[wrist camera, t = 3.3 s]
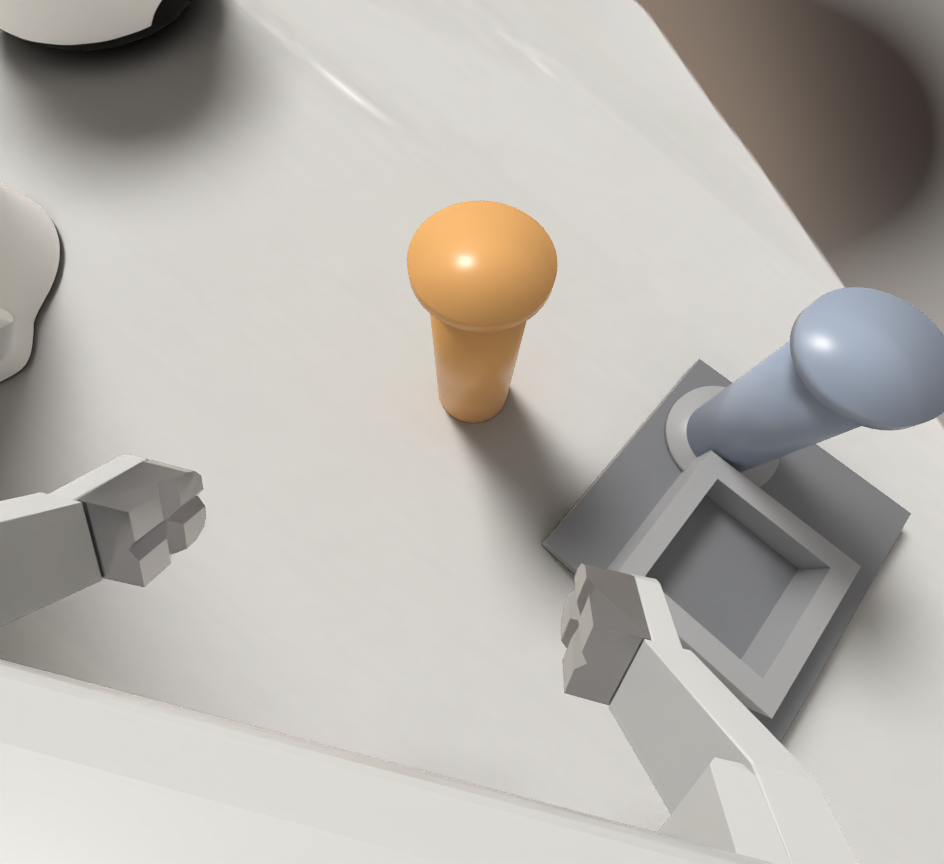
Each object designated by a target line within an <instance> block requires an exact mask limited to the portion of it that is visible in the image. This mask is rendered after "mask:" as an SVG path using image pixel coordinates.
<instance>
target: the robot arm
mask: <svg viewBox="0 0 944 864" xmlns="http://www.w3.org/2000/svg"><path fill="white" fill-rule="evenodd" d="M59 257H60V245H59V238H58V234H57V231H56V228H55V226H54V224H53V222H52V220H51V218H50V217H49V216H48V214H47V213H46V212H45V211H44V210H43V209H42V208H41V207H40V206H39V205H38V204H36V203H35V202H34V201H32V200H31V199H29V198H27V197H26V196H24V195H22V194H20V193H18V192H16V191H14V190H12V189H10V188H9V187H7V186H5V185H3V184H2V183H0V381H2V380H4V379H6V378H8V377H10V376H12V375H14V374H15V373H17V372H18V371H20V370H21V369H22V368H23V367H24V366H25V365H26V363H27V361H28V360H29V357H30V354H31V350H32V343H33V330H34V321H35V318H36V315H37V313H38V311H39V309H40V307H41V305H42V303H43V302H44V300H45V298H46V296H47V294H48V293H49V291H50V289H51V286H52V284H53V282H54V279H55V276H56V273H57V269H58V265H59ZM202 490H203V484H202V478H201V475H199V474H198V473H197V472H195V471H192V470H188V469H184V468H181V467H177V466H173V465H169V464H165V463H161V462H158V461H154V460H148V459H145V458H141V457H137V456H133V455H120V456H118V457H116V458H114V459H113V460H111V461H109V462H107V463H105V464H103V465H101V466H100V467H98V468H96V469H94V470H92V471H90V472H88V473H86V474H85V475H83V476H81V477H79V478H77V479H75V480H73V481H72V482H70V483H68V484H66V485H64V486H62V487H60V488H59V489H57V490H55V491H53V492H51V493H49V494H46V493H42V492H40V493H35V494H30V495H26V496H21V497H16V498H12V499H7V500H2V501H0V626H3V625H5V624H7V623H9V622H11V621H14V620H16V619H18V618H20V617H22V616H25V615H27V614H29V613H31V612H33V611H36V610H38V609H40V608H42V607H44V606H47V605H49V604H51V603H53V602H55V601H58V600H60V599H62V598H64V597H66V596H69V595H71V594H73V593H75V592H77V591H80V590H82V589H84V588H86V587H88V586H91V585H93V584H95V583H97V582H99V581H101V580H102V578H105V579H110V580H114V581H119V582H123V583H128V584H132V585H137V586H141V587H145V586H146V585H147V584H148V583H150V582H151V581H152V580H153V579H154V578H155V577H156V576H157V575H158V574H160V573H161V572H162V571H163V570H164V569H165V568H166V567H167V566H168V565H169V564H171V556H172V554H174V553H176V552H179V551H182V550H184V549H187V548H188V547H189V546H190V545H191V544H192V543H193V542H194V541H195V540H196V539H197V538H198V536H199V534H200V533H201V531H202V529H203V527H204V524H205V519H206V509H205V505H204V504H203V502H202V501H201V500H200V498H199V497H198V495H199V493H200V492H201V491H202ZM574 580H575V590H573V591H571V592H570V593H568V595H567V598H566V601H565V604H564V608H563V614H562V619H561V641H562V642H563V644H564V645H565V647H566V648H567V650H566V653H565V655H564V658H563V660H562V663H563V679H564V693H567V694H570V695H574V696H577V697H581V698H585V699H588V700H592V701H595V702H599V703H602V704H606V705H609V709H610V711H611V713H612V714H613V716H614V718H615V719H616V721H617V723H618V725H619V726H620V728H621V730H622V731H623V733H624V735H625V737H626V738H627V740H628V742H629V743H630V745H631V747H632V749H633V750H634V752H635V754H636V755H637V757H638V759H639V761H640V762H641V764H642V766H643V768H644V769H645V771H646V773H647V774H648V776H649V778H650V780H651V781H652V783H653V785H654V786H655V788H656V790H657V792H658V793H659V795H660V797H661V798H662V800H663V802H664V804H665V805H666V807H667V809H668V810H669V812H670V814H671V815H670V817H669V818H668V819H667V820H666V822H665V823H664V824H663V826H662V827H661V828H660V830H659V831H658V832H654V831H650V830H646V829H642V828H639V827H635V826H631V825H627V824H624V823H620V822H616V821H612V820H608V819H605V818H601V817H597V816H593V815H589V814H586V813H582V812H578V811H574V810H571V809H567V808H563V807H559V806H555V805H552V804H548V803H544V802H540V801H536V800H533V799H529V798H525V797H521V796H518V795H514V794H510V793H506V792H502V791H499V790H495V789H491V788H487V787H483V786H480V785H476V784H472V783H468V782H464V781H461V780H457V779H453V778H449V777H445V776H442V775H438V774H434V773H430V772H427V771H423V770H419V769H415V768H411V767H408V766H404V765H400V764H396V763H392V762H389V761H385V760H381V759H377V758H373V757H370V756H366V755H362V754H358V753H354V752H351V751H347V750H343V749H339V748H335V747H332V746H328V745H324V744H320V743H316V742H313V741H309V740H305V739H301V738H297V737H294V736H290V735H286V734H282V733H278V732H275V731H271V730H267V729H263V728H259V727H256V726H252V725H248V724H244V723H241V722H237V721H233V720H229V719H225V718H222V717H218V716H214V715H210V714H206V713H203V712H199V711H195V710H191V709H187V708H184V707H180V706H176V705H172V704H169V703H165V702H161V701H157V700H153V699H150V698H146V697H142V696H138V695H134V694H131V693H127V692H123V691H119V690H115V689H112V688H108V687H104V686H100V685H97V684H93V683H89V682H85V681H81V680H78V679H74V678H70V677H66V676H63V675H59V674H55V673H51V672H47V671H44V670H40V669H36V668H32V667H28V666H25V665H21V664H17V663H13V662H10V661H6V660H2V659H0V864H859V863H858V861H857V859H856V857H855V855H854V853H853V851H852V849H851V847H850V845H849V843H848V841H847V839H846V837H845V835H844V833H843V831H842V829H841V827H840V825H839V823H838V821H837V819H836V817H835V815H834V813H833V811H832V809H831V807H830V805H829V803H828V801H827V799H826V797H825V795H824V793H823V791H822V789H821V787H820V785H819V783H818V781H817V780H816V779H815V778H814V777H813V776H812V775H811V774H810V773H809V772H808V771H807V770H806V769H805V768H804V767H803V766H802V765H801V763H800V762H799V761H798V760H797V759H796V758H795V757H794V756H793V755H792V754H791V753H790V752H789V751H788V750H787V749H786V748H785V747H784V746H783V745H782V744H781V743H780V742H779V741H778V740H777V739H776V738H775V737H774V736H773V735H772V734H771V733H770V732H769V731H768V729H767V728H766V727H765V726H764V725H763V724H762V723H761V722H760V721H759V720H758V719H757V718H756V717H755V716H754V715H753V714H752V713H751V712H750V711H749V710H748V709H747V708H746V707H745V706H744V705H743V704H742V703H741V702H740V701H739V700H738V699H737V698H736V697H735V695H734V694H733V693H732V692H731V691H730V690H729V689H728V688H727V687H726V686H725V685H724V684H723V683H722V682H721V681H720V680H719V679H718V678H717V677H716V676H715V675H714V674H713V673H712V672H711V671H710V670H709V669H708V668H707V667H706V666H705V665H704V664H703V663H702V661H701V660H700V659H699V658H698V657H697V656H696V655H695V654H694V653H693V652H692V651H691V650H687V649H683V647H682V645H681V642H680V639H679V636H678V633H677V630H676V627H675V625H674V622H673V619H672V616H671V613H670V610H669V607H668V605H667V602H666V599H665V596H664V593H663V590H662V587H661V585H660V583H659V582H658V581H657V579H653V578H649V577H644V576H639V575H635V574H627V573H623V572H618V571H614V570H610V569H605V568H601V567H597V566H592V565H588V564H584V563H581V564H580V566H579V567H578V569H577V572H576V574H575V577H574Z"/></svg>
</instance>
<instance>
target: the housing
mask: <svg viewBox="0 0 944 864" xmlns="http://www.w3.org/2000/svg"><path fill="white" fill-rule="evenodd" d="M943 412H944V335H943V333H942V332H941V331H940V330H939V328H938V327H937V326H936V325H935V324H934V323H933V322H932V321H931V320H930V319H929V318H928V317H927V316H926V315H925V314H923V313H922V312H921V311H920V310H918V309H917V308H915V307H914V306H912V305H911V304H909V303H907V302H906V301H904V300H902V299H900V298H898V297H895V296H894V295H891V294H888V293H885V292H883V291H878V290H875V289H869V288H859V287H852V288H842V289H837V290H834V291H831V292H828V293H826V294H824V295H822V296H821V297H819V298H818V299H817V300H815V301H814V302H813V303H812V304H810V305H809V306H808V307H807V308H805V309H804V310H803V311H802V312H801V313H800V314H799V316H798V317H797V319H796V320H795V322H794V325H793V327H792V331H791V335H790V341H789V342H788V343H786V344H785V345H784V346H782V347H781V348H780V349H778V350H777V351H775V352H774V353H773V354H771V355H770V356H769V357H767V358H766V359H764V360H763V361H762V362H760V363H759V364H758V365H756V366H755V367H754V368H752V369H751V370H749V371H748V372H747V373H745V374H744V375H743V376H741V377H740V378H738V379H737V380H736V381H734V382H733V383H732V382H730V381H729V380H728V379H726V378H725V377H723V376H722V375H721V374H719V373H718V372H717V371H715V370H714V369H712V368H711V367H710V366H708V365H707V364H706V363H704V362H703V361H702V360H700V359H699V360H698V361H697V362H696V363H695V364H694V365H693V366H692V367H691V368H689V370H688V371H687V372H686V373H685V374H684V376H683V377H682V378H681V379H680V380H679V381H678V383H677V384H676V385H675V386H674V387H673V389H672V390H671V391H670V392H669V393H668V394H667V396H666V397H665V398H664V399H663V400H662V402H661V403H660V404H659V405H658V406H657V408H656V409H655V410H654V411H653V412H652V413H651V415H650V416H649V417H648V418H647V419H646V421H645V422H644V423H643V424H642V425H641V427H640V428H639V429H638V430H637V431H636V432H635V434H634V435H633V436H632V437H631V438H630V440H629V441H628V442H627V443H626V444H625V445H624V447H623V448H622V449H621V450H620V451H619V453H618V454H617V455H616V456H615V457H614V459H613V460H612V461H611V462H610V463H609V464H608V466H607V467H606V468H605V469H604V470H603V472H602V473H601V474H600V475H599V476H598V478H597V479H596V480H595V481H594V482H593V483H592V485H591V486H590V487H589V488H588V489H587V491H586V492H585V493H584V494H583V495H582V497H581V498H580V499H579V500H578V501H577V502H576V504H575V505H574V506H573V507H572V508H571V510H570V511H569V512H568V513H567V514H566V515H565V517H564V518H563V519H562V520H561V521H560V523H559V524H558V525H557V526H556V527H555V529H554V530H553V531H552V532H551V533H550V534H549V536H548V537H547V538H546V539H545V540H544V542H543V543H542V544H541V545H542V546H544V547H545V548H546V549H547V550H548V551H549V552H550V553H551V554H552V555H553V556H555V557H556V558H557V559H558V560H559V561H560V562H561V563H562V564H563V565H564V566H566V567H567V568H568V569H569V570H570V571H571V572H572V573H573V574H574V575H575V574H576V572H577V569H578V567H579V566H580V564H581V563H584V564H588V565H592V566H597V567H601V568H605V569H610V570H614V571H618V572H623V573H627V574H635V575H639V576H644V577H649V578H653V579H657V581H658V582H659V583H660V585H661V587H662V590H663V593H664V596H665V599H666V602H667V605H668V607H669V610H670V613H671V616H672V619H673V622H674V625H675V627H676V630H677V633H678V636H679V639H680V642H681V645H682V647H683V649H687V650H691V651H692V652H693V653H694V654H695V655H696V656H697V657H698V658H699V659H700V660H701V661H702V663H703V664H704V665H705V666H706V667H707V668H708V669H709V670H710V671H711V672H712V673H713V674H714V675H715V676H716V677H717V678H718V679H719V680H720V681H721V682H722V683H723V684H724V685H725V686H726V687H727V688H728V689H729V690H730V691H731V692H732V693H733V694H734V695H735V697H736V698H737V699H738V700H739V701H740V702H741V703H742V704H743V705H744V706H745V707H746V708H747V709H748V710H749V711H750V712H751V713H752V714H753V715H754V716H755V717H756V718H757V719H758V720H759V721H760V722H761V723H762V724H763V725H764V726H765V727H766V728H767V729H768V731H769V732H770V733H771V734H772V735H773V736H774V737H775V738H776V739H777V740H778V741H779V742H781V740H782V738H783V737H784V735H785V733H786V731H787V730H788V728H789V726H790V724H791V723H792V721H793V719H794V717H795V716H796V714H797V712H798V710H799V709H800V707H801V705H802V703H803V702H804V700H805V698H806V696H807V695H808V693H809V691H810V689H811V688H812V686H813V684H814V682H815V681H816V679H817V677H818V675H819V674H820V672H821V670H822V668H823V667H824V665H825V663H826V661H827V660H828V658H829V656H830V654H831V653H832V651H833V649H834V647H835V646H836V644H837V642H838V640H839V639H840V637H841V635H842V633H843V632H844V630H845V628H846V626H847V625H848V623H849V621H850V619H851V618H852V616H853V614H854V612H855V611H856V609H857V607H858V605H859V604H860V602H861V600H862V598H863V596H864V595H865V593H866V591H867V589H868V588H869V586H870V584H871V582H872V581H873V579H874V577H875V575H876V574H877V572H878V570H879V568H880V567H881V565H882V563H883V561H884V560H885V558H886V556H887V554H888V553H889V551H890V549H891V547H892V546H893V544H894V542H895V540H896V539H897V537H898V535H899V533H900V532H901V530H902V528H903V526H904V525H905V523H906V521H907V519H908V518H909V516H910V514H911V513H909V512H908V511H907V510H905V509H904V508H903V507H901V506H900V505H899V504H897V503H896V502H894V501H893V500H892V499H890V498H889V497H888V496H886V495H885V494H883V493H882V492H881V491H879V490H878V489H877V488H875V487H874V486H873V485H871V484H870V483H868V482H867V481H866V480H864V479H863V478H862V477H860V476H859V475H857V474H856V473H855V472H853V471H852V470H851V469H849V468H848V467H847V466H845V465H844V464H842V463H841V462H840V461H838V460H837V459H836V458H834V457H833V456H831V455H830V454H829V453H827V452H826V451H825V450H823V449H822V448H821V447H819V446H818V445H816V443H819V442H821V441H824V440H826V439H829V438H831V437H834V436H837V435H839V434H842V433H844V432H847V431H849V430H852V429H855V428H857V427H860V426H864V427H868V428H872V429H879V430H900V429H905V428H909V427H912V426H915V425H918V424H921V423H924V422H927V421H929V420H932V419H934V418H936V417H937V416H939V415H940V414H942V413H943Z"/></svg>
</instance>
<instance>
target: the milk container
mask: <svg viewBox="0 0 944 864" xmlns="http://www.w3.org/2000/svg"><path fill="white" fill-rule="evenodd" d="M191 1H192V0H0V29H1V30H3V31H4V32H6V33H8V34H10V35H12V36H14V37H16V38H18V39H21V40H23V41H25V42H28V43H31V44H34V45H38V46H41V47H45V48H54V49H65V50H70V51H88V50H95V49H107V48H115V47H118V46H121V45H124V44H127V43H130V42H133V41H136V40H140V39H143V38H145V37H148V36H150V35H152V34H153V33H155V32H157V31H158V30H159V29H161V28H163V27H164V26H166V25H168V24H170V23H171V22H173V21H174V20H176V18H177V17H178V16H179V15H180V13H181V12H182V11H183V10H184V9H185V8H186V7H187V6H188V4H189V3H190V2H191Z"/></svg>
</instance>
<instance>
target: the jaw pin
mask: <svg viewBox="0 0 944 864" xmlns="http://www.w3.org/2000/svg"><path fill="white" fill-rule="evenodd" d="M407 267H408V274H409V279H410V284H411V287H412V289H413V292H414V294H415V296H416V298H417V299H418V301H419V302H420V303H421V305H422V306H423V307H424V308H425V309H426V310H427V311H428V312H429V313H430V317H431V326H432V335H433V345H434V354H435V363H436V372H437V382H438V391H439V398H440V401H441V404H442V405H443V407H444V409H445V410H446V411H447V412H448V413H449V414H450V415H451V416H453V417H454V418H456V419H458V420H460V421H464V422H469V423H478V422H483V421H486V420H489V419H491V418H492V417H494V416H495V415H496V414H498V413H499V412H500V410H501V409H502V408H503V406H504V404H505V402H506V398H507V394H508V390H509V387H510V383H511V379H512V375H513V371H514V367H515V363H516V359H517V355H518V352H519V348H520V344H521V340H522V336H523V332H524V328H525V324H526V320H528V319H530V318H531V317H532V316H533V315H535V314H536V313H537V312H538V311H539V310H540V309H541V308H542V307H543V305H544V304H545V302H546V301H547V299H548V297H549V295H550V293H551V291H552V288H553V284H554V281H555V278H556V274H557V256H556V251H555V248H554V245H553V242H552V241H551V239H550V237H549V235H548V234H547V232H546V231H545V230H544V228H543V227H542V226H541V225H540V224H539V223H538V222H537V221H535V220H534V219H533V218H532V217H530V216H529V215H527V214H526V213H524V212H522V211H520V210H518V209H516V208H514V207H511V206H508V205H505V204H501V203H497V202H490V201H469V202H463V203H458V204H455V205H451V206H449V207H446V208H444V209H442V210H440V211H438V212H436V213H435V214H433V215H432V216H431V217H429V218H428V219H427V220H426V221H425V222H424V223H422V225H421V226H420V227H419V228H418V229H417V231H416V233H415V234H414V236H413V238H412V240H411V242H410V245H409V249H408V254H407Z"/></svg>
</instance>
